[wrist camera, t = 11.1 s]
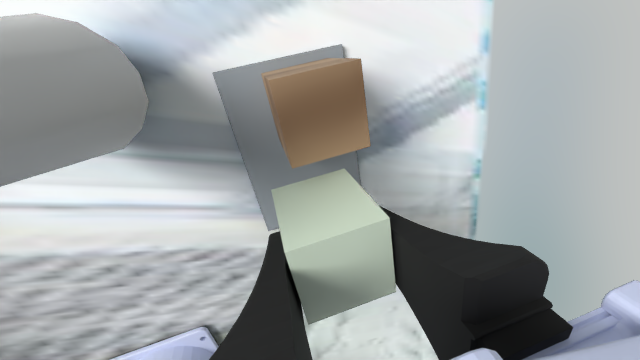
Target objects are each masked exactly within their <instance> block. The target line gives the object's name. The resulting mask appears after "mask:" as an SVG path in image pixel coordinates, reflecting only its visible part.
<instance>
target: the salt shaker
mask: <svg viewBox="0 0 640 360" xmlns="http://www.w3.org/2000/svg"><path fill="white" fill-rule="evenodd" d="M148 104H149V100H148V97H147V94H146V91H145V88H144V85H143V82H142V79H141V76H140V73H139V72H138V71H137V69H136V68H135V67H134V66H133V64H132V63H131V62H130V61H129V59H128V58H127V57H126V55H125V54H124V53H123V52H122V50H121V49H120V48H119V47H118V46H117V45H116V44H114V43H112V42H110V41H109V40H107V39H105V38H104V37H102V36H100V35H98V34H97V33H95V32H93V31H92V30H90V29H88V28H87V27H85V26H83V25H81V24H79V23H78V22H73V21H69V20H64V19H60V18H55V17H50V16H46V15H41V14H36V13H34V14H25V15H15V16H5V17H0V187H1V186H4V185H7V184H10V183H13V182H17V181H20V180H23V179H26V178H30V177H33V176H36V175H39V174H43V173H46V172H49V171H52V170H56V169H59V168H62V167H65V166H69V165H72V164H75V163H78V162H81V161H85V160H88V159H91V158H94V157H98V156H101V155H104V154H107V153H111V152H114V151H117V150H120V149H124V148H125V147H126V146H127V145H128V144H129V143H130V142H131V140H132V139H133V138H134V137H135V136H136V135H137V134H138V133H139V132H140V131H141V130H142V128H143V125H144V121H145V116H146V112H147V108H148Z"/></svg>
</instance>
